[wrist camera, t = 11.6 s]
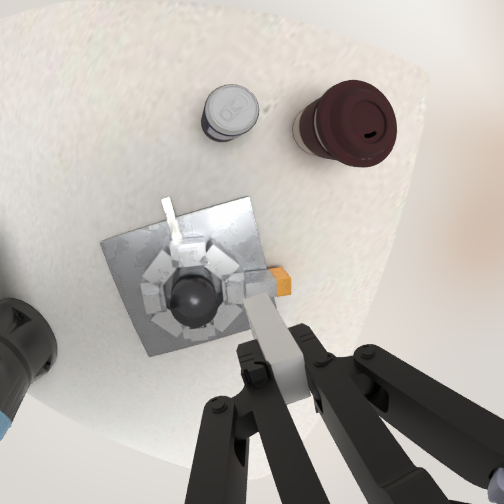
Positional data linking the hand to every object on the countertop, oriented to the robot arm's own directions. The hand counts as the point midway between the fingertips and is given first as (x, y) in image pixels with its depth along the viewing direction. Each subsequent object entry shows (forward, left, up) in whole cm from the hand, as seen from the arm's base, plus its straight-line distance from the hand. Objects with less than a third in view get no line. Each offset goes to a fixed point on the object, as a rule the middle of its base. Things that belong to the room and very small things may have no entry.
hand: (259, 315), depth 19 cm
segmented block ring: (-3, -8, -25) cm, 27 cm away
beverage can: (+4, +14, -27) cm, 30 cm away
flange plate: (-5, -6, -26) cm, 27 cm away
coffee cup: (+17, +10, -27) cm, 33 cm away
